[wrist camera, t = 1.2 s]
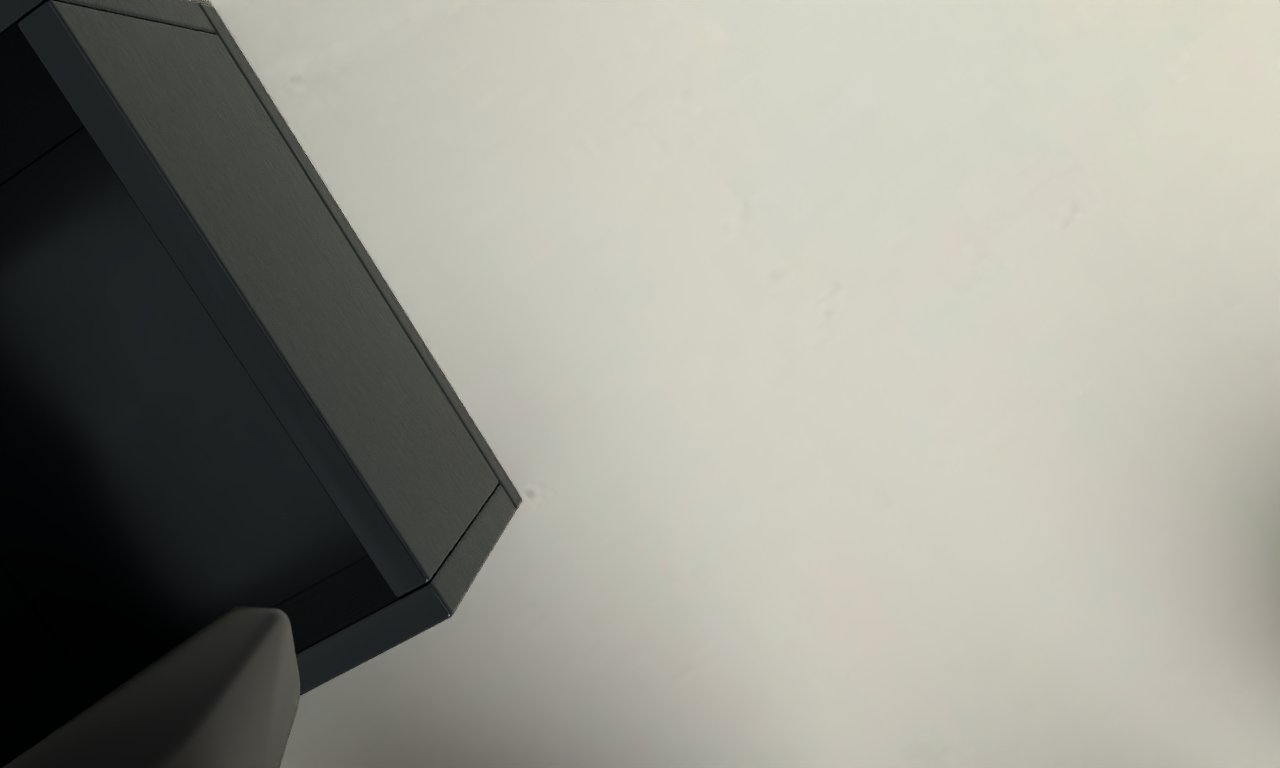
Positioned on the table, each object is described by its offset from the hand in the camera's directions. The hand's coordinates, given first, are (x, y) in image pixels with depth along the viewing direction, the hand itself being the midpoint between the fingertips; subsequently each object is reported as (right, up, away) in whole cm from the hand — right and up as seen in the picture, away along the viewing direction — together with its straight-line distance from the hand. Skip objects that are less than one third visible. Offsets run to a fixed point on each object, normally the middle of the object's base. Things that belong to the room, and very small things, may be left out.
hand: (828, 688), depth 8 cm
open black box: (-12, +2, +14) cm, 19 cm away
